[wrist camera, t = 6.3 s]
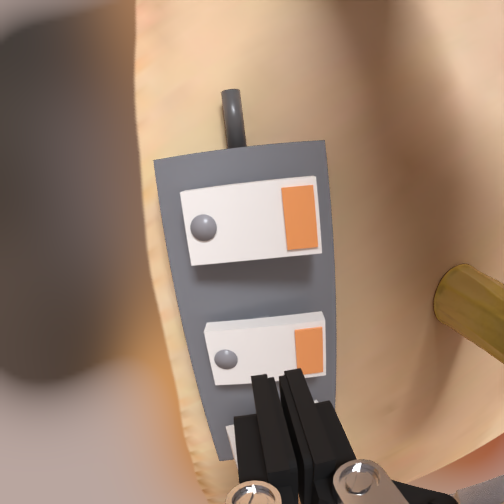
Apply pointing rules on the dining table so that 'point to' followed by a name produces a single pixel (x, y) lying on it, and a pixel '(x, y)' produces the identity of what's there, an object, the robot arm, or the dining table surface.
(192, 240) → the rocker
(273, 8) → the dining table surface
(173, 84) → the dining table surface
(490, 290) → the vase
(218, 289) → the power strip
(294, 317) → the rocker mid
